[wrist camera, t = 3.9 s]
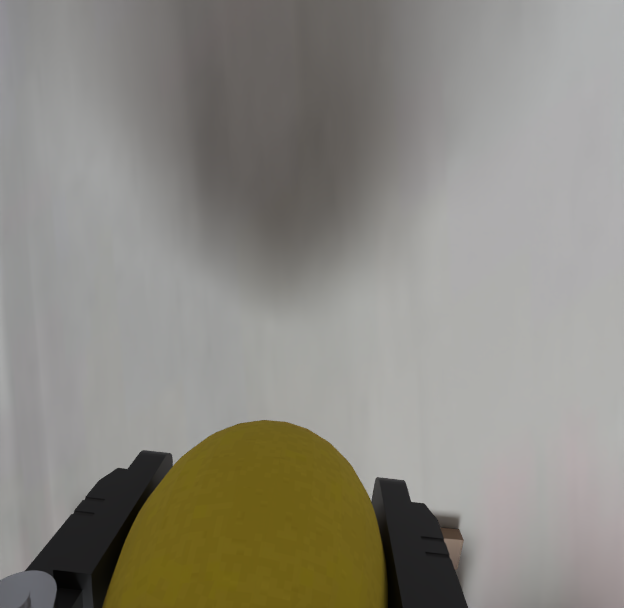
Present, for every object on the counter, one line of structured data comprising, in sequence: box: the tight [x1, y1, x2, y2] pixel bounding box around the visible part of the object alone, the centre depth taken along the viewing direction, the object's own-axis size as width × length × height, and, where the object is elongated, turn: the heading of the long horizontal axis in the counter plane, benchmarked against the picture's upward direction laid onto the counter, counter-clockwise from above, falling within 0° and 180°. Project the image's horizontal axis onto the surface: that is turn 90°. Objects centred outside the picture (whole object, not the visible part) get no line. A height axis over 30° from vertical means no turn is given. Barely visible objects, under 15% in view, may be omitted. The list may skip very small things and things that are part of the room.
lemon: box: [102, 420, 388, 608], centre depth 8 cm, size 6×6×8 cm
